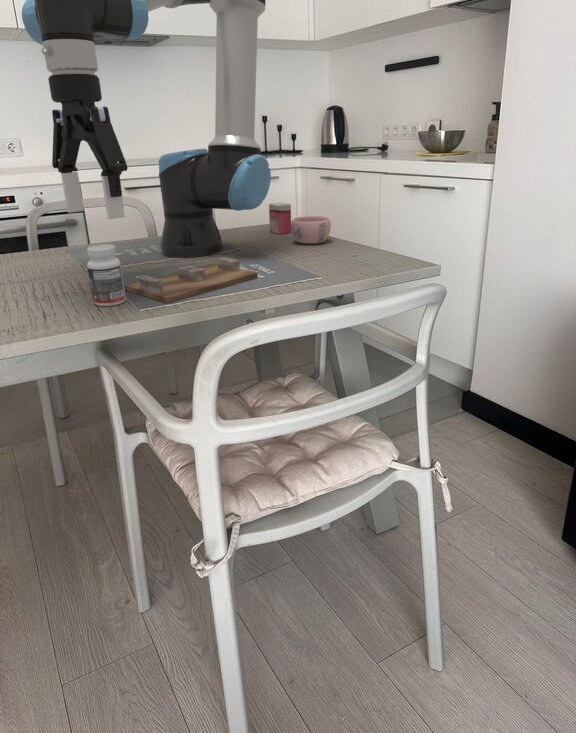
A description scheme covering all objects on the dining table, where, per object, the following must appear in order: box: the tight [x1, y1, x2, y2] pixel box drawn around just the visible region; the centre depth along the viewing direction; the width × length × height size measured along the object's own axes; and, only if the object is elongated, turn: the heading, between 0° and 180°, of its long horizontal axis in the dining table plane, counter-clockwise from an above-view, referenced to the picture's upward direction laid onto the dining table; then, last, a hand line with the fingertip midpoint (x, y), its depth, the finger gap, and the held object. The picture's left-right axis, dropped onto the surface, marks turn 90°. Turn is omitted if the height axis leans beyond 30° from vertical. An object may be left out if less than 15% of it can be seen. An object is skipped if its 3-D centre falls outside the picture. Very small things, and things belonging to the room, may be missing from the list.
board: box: [124, 257, 258, 304], centre depth 112 cm, size 14×22×3 cm, turn 136°
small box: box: [268, 202, 292, 235], centre depth 159 cm, size 5×4×8 cm
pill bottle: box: [86, 244, 127, 307], centre depth 101 cm, size 6×6×10 cm
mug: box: [291, 215, 332, 245], centre depth 146 cm, size 12×10×6 cm
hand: (95, 214), depth 97 cm, fingers open, 13 cm apart
